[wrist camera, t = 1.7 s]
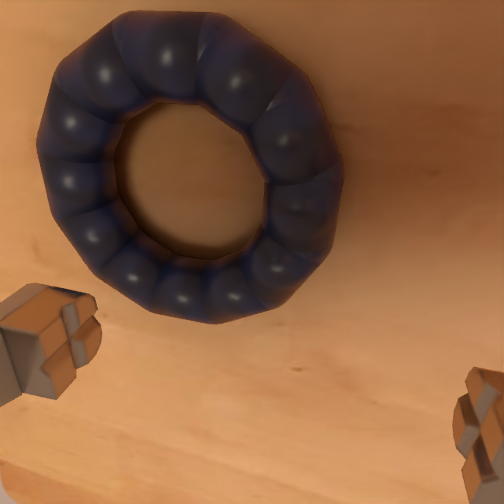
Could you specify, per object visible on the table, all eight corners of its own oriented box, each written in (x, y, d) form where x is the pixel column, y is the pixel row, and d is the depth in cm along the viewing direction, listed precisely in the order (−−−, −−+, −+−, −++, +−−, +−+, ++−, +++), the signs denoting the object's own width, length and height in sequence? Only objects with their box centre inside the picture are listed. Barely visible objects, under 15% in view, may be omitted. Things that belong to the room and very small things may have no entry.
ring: (20, 111, 18) (-36, 121, 16) (254, -67, 13) (228, -95, 10) (163, 323, 22) (137, 358, 20) (387, 254, 17) (391, 290, 14)
